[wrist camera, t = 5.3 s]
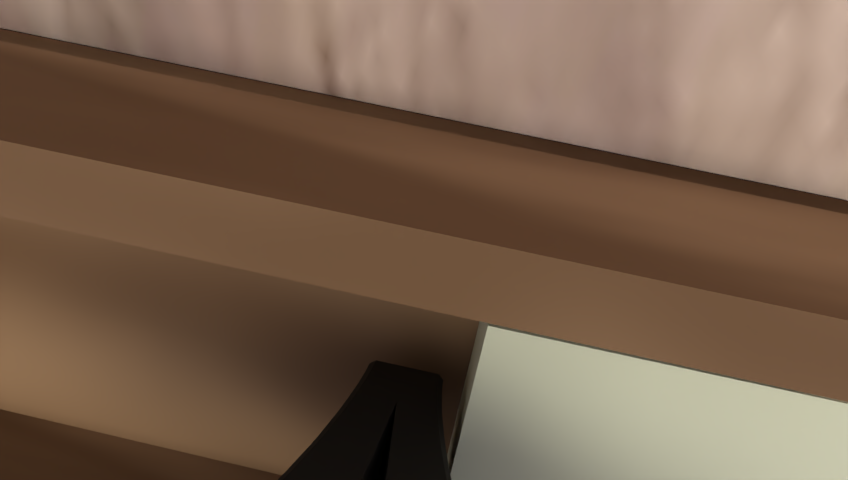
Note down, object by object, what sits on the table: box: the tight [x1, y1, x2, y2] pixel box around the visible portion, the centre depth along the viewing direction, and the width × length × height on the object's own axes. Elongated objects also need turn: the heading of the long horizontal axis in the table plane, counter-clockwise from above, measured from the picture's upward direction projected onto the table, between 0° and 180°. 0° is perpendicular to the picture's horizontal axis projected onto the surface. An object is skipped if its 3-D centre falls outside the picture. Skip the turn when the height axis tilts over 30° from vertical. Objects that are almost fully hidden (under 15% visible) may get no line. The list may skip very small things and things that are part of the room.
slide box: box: [0, 29, 848, 480], centre depth 13 cm, size 10×18×4 cm, turn 81°
